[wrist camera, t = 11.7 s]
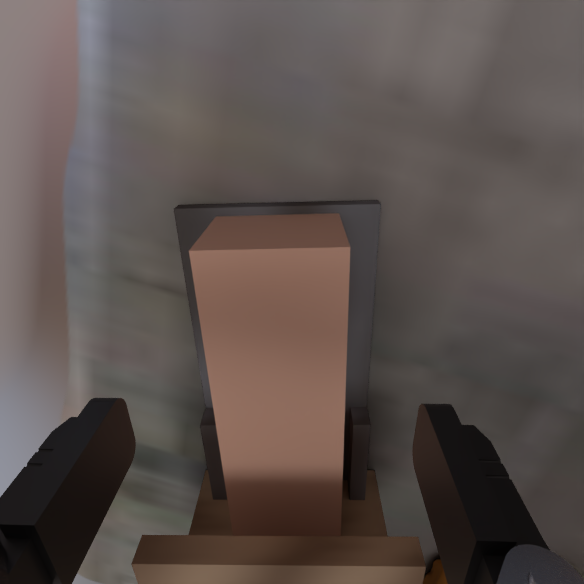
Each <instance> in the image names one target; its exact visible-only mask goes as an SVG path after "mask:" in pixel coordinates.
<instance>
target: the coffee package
mask: <svg viewBox="0 0 584 584" xmlns="http://www.w3.org/2000/svg"><path fill="white" fill-rule="evenodd" d="M423 584H448V583H447V580H446V576H445V573H444V570H443V566H442V563H441V559H437V560H435V561H434V562H433V568H432V569H431V572H429V573H427V574H426V576H425V578H424V580H423Z"/></svg>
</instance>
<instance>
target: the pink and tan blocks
mask: <svg viewBox="0 0 584 584" xmlns="http://www.w3.org/2000/svg"><path fill="white" fill-rule="evenodd" d="M380 209H381V204H380V202H379V201H378V200H369V201H327V202H285V203H243V204H201V205H178V206H177V207H175V208H174V214H175V220H176V226H177V232H178V238H179V245H180V251H181V257H182V263H183V269H184V276H185V282H186V288H187V294H188V300H189V307H190V313H191V319H192V325H193V331H194V338H195V344H196V350H197V356H198V362H199V369H200V375H201V381H202V387H203V393H204V400H205V406H206V409H205V412H204V415H203V418H202V421H201V424H200V428H201V434H202V439H203V445H204V451H205V457H206V462H207V468H208V470H206V471H205V475H204V479H203V483H202V486H201V490H200V494H199V498H198V501H197V505H196V509H195V513H194V516H193V520H192V524H191V528H190V531H189V535H142V537H141V540H140V543H139V545H138V548H137V551H136V553H135V556H134V559H133V561H132V567H133V570H134V573H135V576H136V579H137V582H138V584H423V579H424V574H425V569H426V565H425V561H424V558H423V554H422V550H421V546H420V543H419V539H418V537H388V536H387V531H386V526H385V521H384V516H383V511H382V506H381V501H380V496H379V491H378V486H377V480H376V475H375V470H367V467H368V454H369V440H370V427H371V424H370V419H369V415H368V410H367V398H368V383H369V369H370V354H371V339H372V325H373V310H374V296H375V281H376V267H377V252H378V238H379V223H380ZM331 213H339V215H340V218H341V221H342V224H343V227H344V230H345V233H346V236H347V239H348V241H349V244H350V274H349V304H348V333H347V363H346V393H345V423H344V453H343V483H342V513H341V536H233V532H232V526H231V519H230V513H229V506H228V500H227V494H226V487H225V481H224V474H223V468H222V461H221V455H220V448H219V442H218V435H217V429H216V423H215V416H214V410H213V403H212V397H211V390H210V384H209V377H208V371H207V365H206V358H205V352H204V345H203V339H202V332H201V326H200V319H199V313H198V307H197V300H196V294H195V287H194V281H193V274H192V268H191V261H190V255H189V250H190V249H191V247H192V246H193V245H194V244H195V242H196V241H197V240H198V239H199V237H200V236H201V235H202V234H203V232H204V231H205V230H206V228H207V227H208V226H209V225H210V223H211V222H212V221H213V220H214V218H215V217H216V216H254V215H293V214H331Z"/></svg>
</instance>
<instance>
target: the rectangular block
mask: <svg viewBox="0 0 584 584" xmlns="http://www.w3.org/2000/svg"><path fill="white" fill-rule="evenodd" d="M189 255H190V261H191V268H192V274H193V281H194V287H195V294H196V300H197V307H198V313H199V319H200V326H201V332H202V339H203V345H204V352H205V358H206V365H207V371H208V377H209V384H210V390H211V397H212V403H213V410H214V416H215V423H216V429H217V435H218V442H219V448H220V455H221V461H222V468H223V474H224V481H225V487H226V494H227V500H228V506H229V513H230V519H231V526H232V532H233V536H341V513H342V483H343V453H344V423H345V393H346V363H347V333H348V304H349V274H350V244H349V241H348V239H347V236H346V233H345V230H344V227H343V224H342V221H341V218H340V215H339V213H331V214H293V215H254V216H216V217H215V218H214V220H213V221H212V222H211V223H210V225H209V226H208V227H207V228H206V230H205V231H204V232H203V234H202V235H201V236H200V237H199V239H198V240H197V241H196V242H195V244H194V245H193V246H192V247H191V249H190V250H189Z"/></svg>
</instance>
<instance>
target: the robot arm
mask: <svg viewBox="0 0 584 584" xmlns="http://www.w3.org/2000/svg"><path fill="white" fill-rule="evenodd" d="M135 446H136V442H135V436H134V432H133V428H132V425H131V421H130V417H129V413H128V409H127V405H126V402H125V401H124V399H122V398H93V399H91V400H90V401H89V402H88V404H87V405H86V406H85V408H84V409H83V410H82V412H81V413H80V414H79V416H78V417H71V418H69V419H68V420H67V421H65V422H64V423H63V424H61V425H60V426H59V427H58V428H56V429H55V430H54V431H52V432H51V434H50V435H49V436H48V438H47V439H46V440H45V441H44V443H43V444H42V445H41V446H40V448H39V451H38V452H36V453H35V454H34V455H33V456H32V458H31V459H30V460H29V462H28V463H27V467H24V468H23V469H22V471H21V472H20V473H19V474H18V476H17V477H16V478H15V479H14V481H13V482H12V483H11V485H10V486H9V487H8V488H7V490H6V491H5V492H4V493H3V495H2V496H1V497H0V584H72V582H73V580H74V578H75V576H76V574H77V572H78V570H79V568H80V566H81V564H82V562H83V560H84V558H85V556H86V554H87V552H88V550H89V548H90V546H91V544H92V542H93V540H94V538H95V536H96V534H97V532H98V530H99V528H100V526H101V524H102V522H103V520H104V518H105V516H106V514H107V512H108V510H109V508H110V506H111V504H112V502H113V500H114V498H115V496H116V493H117V491H118V489H119V487H120V485H121V483H122V481H123V479H124V477H125V475H126V473H127V471H128V469H129V467H130V465H131V463H132V461H133V458H134V454H135ZM413 463H414V469H415V472H416V476H417V479H418V483H419V486H420V490H421V493H422V497H423V500H424V504H425V507H426V511H427V514H428V518H429V521H430V524H431V528H432V531H433V535H434V538H435V542H436V545H437V549H438V552H439V556H440V559H441V563H442V566H443V570H444V573H445V576H446V580H447V583H448V584H584V579H583V578H582V576H581V575H580V574H579V573H578V572H577V571H576V569H575V568H573V567H572V566H571V565H570V564H569V563H568V562H567V561H566V560H564V559H563V558H562V557H560V556H559V555H557V554H555V553H554V552H552V551H550V549H549V548H548V547H547V545H546V543H545V542H544V540H543V538H542V536H541V534H540V532H539V531H538V529H537V527H536V525H535V523H534V521H533V519H532V518H531V516H530V514H529V512H528V510H527V508H526V506H525V505H524V503H523V501H522V499H521V497H520V495H519V493H518V492H517V490H516V488H515V486H514V484H513V482H512V480H510V479H509V475H508V473H507V471H506V469H505V467H504V466H503V464H501V462H500V458H499V456H498V454H497V453H496V451H495V449H494V447H493V445H492V443H491V441H490V440H489V439H488V438H487V437H485V436H484V435H483V434H482V433H481V432H480V431H479V430H478V429H477V428H476V427H475V426H474V425H461V423H460V420H459V418H458V416H457V414H456V412H455V410H454V408H453V407H452V405H450V404H421V405H420V407H419V410H418V417H417V423H416V429H415V435H414V441H413Z"/></svg>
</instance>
